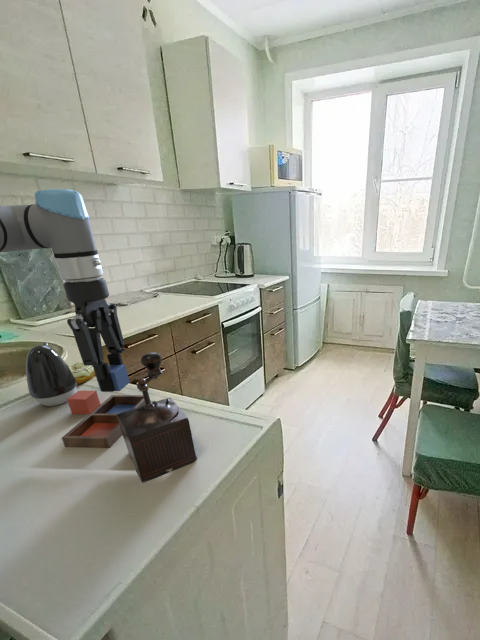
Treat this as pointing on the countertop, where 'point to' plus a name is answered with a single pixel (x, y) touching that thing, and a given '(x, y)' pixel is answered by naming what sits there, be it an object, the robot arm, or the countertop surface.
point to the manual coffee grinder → (156, 430)
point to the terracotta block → (83, 402)
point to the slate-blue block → (118, 376)
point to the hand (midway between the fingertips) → (114, 385)
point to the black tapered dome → (49, 376)
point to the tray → (100, 424)
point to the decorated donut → (82, 372)
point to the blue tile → (120, 409)
